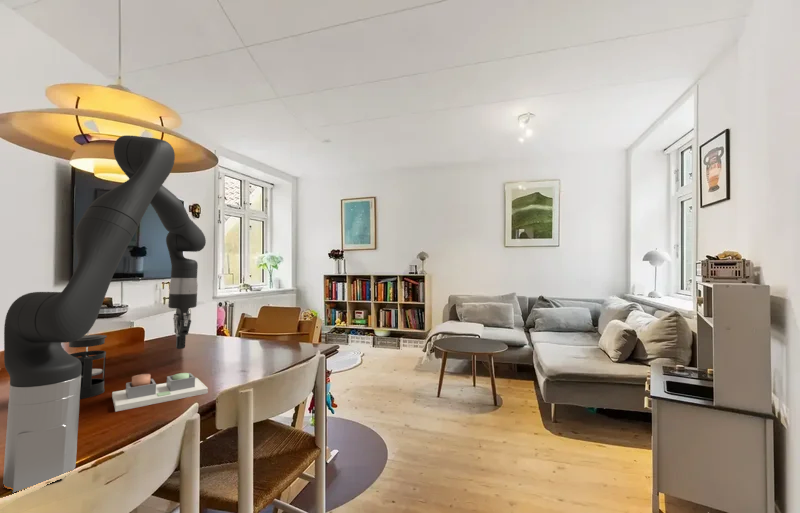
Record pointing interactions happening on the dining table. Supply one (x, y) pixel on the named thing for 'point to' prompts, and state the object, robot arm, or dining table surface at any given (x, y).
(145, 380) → the terracotta button
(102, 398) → the dining table surface
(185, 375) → the sage button
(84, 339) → the french press
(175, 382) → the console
